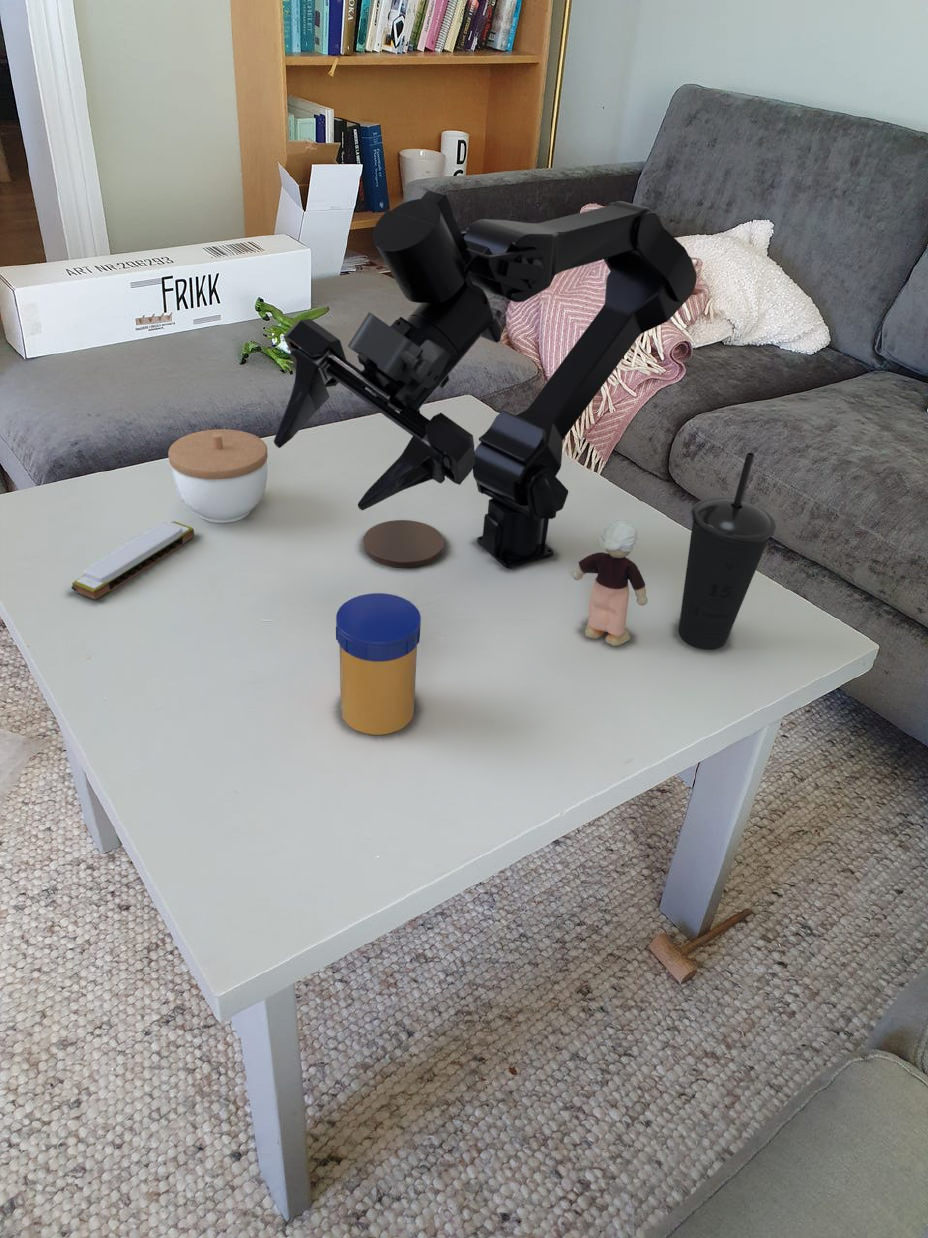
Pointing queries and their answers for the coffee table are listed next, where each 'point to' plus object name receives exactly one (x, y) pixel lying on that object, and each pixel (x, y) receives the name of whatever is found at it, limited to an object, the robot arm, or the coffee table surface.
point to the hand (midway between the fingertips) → (317, 476)
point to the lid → (378, 627)
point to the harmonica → (132, 559)
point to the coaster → (403, 543)
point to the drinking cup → (721, 564)
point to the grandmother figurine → (612, 583)
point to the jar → (377, 693)
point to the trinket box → (220, 473)
